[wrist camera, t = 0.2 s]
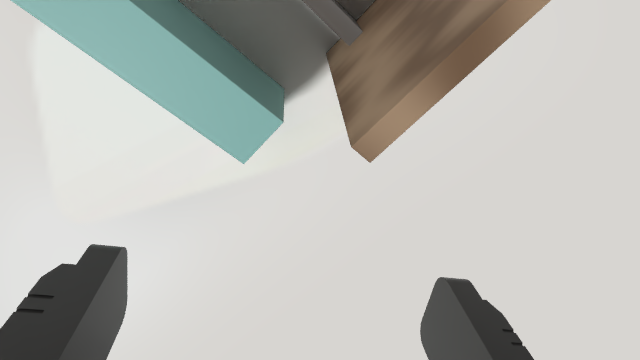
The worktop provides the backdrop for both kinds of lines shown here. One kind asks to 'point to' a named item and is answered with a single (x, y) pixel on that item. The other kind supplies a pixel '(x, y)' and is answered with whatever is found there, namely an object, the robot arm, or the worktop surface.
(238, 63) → the rail
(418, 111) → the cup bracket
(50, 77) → the worktop surface
